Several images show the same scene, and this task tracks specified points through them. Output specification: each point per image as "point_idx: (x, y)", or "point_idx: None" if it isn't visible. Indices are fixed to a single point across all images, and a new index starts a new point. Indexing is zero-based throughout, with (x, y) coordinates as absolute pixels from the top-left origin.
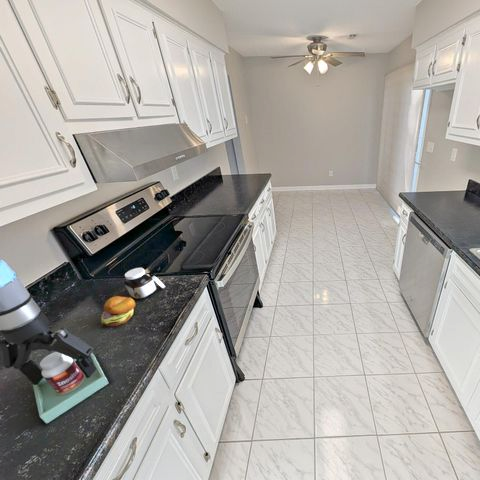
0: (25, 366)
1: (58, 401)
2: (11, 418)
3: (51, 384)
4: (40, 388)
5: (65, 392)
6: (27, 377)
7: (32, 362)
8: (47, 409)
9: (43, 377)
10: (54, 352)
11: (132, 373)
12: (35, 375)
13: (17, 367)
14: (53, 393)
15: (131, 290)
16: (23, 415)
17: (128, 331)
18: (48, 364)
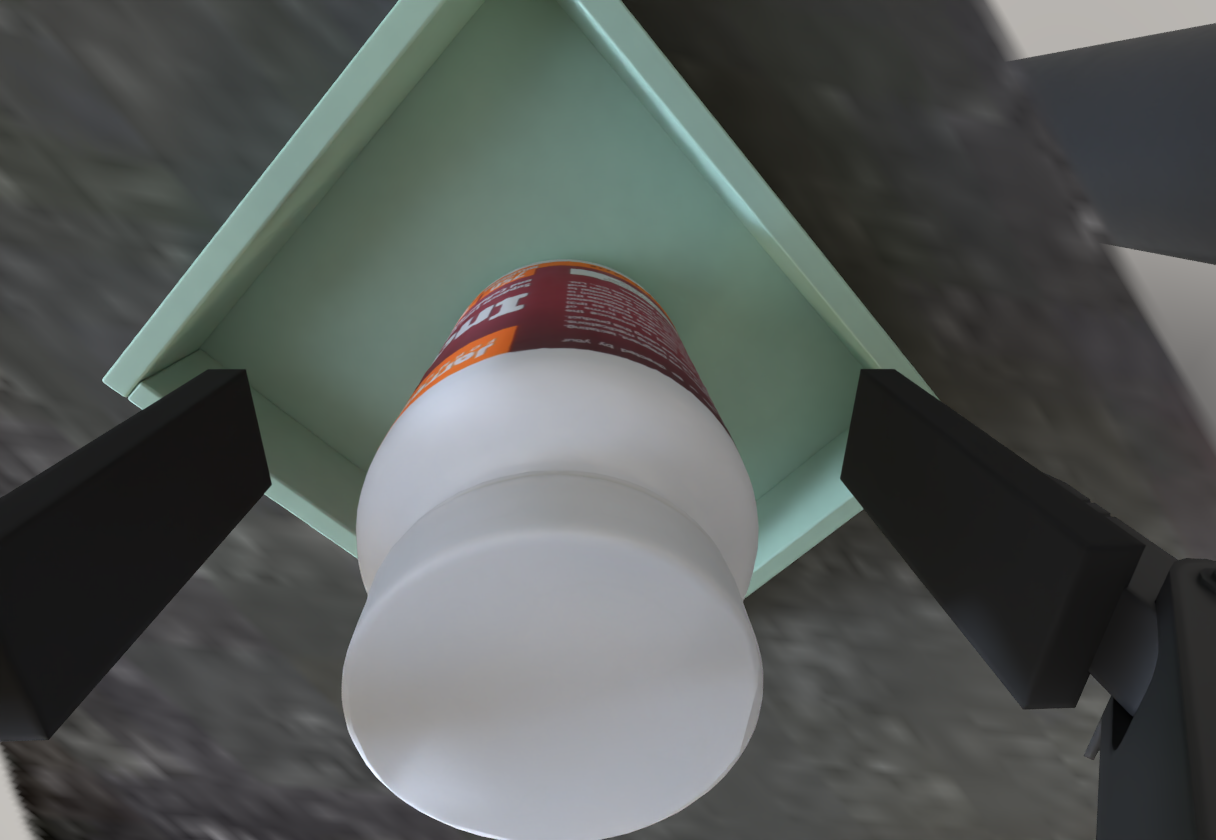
0: (1066, 594)
1: (568, 188)
2: (974, 83)
3: (599, 304)
4: None
5: (524, 266)
6: (977, 430)
7: (1001, 659)
8: (622, 100)
9: (845, 456)
10: (617, 831)
11: (2, 419)
12: (903, 464)
13: (1214, 587)
14: (696, 299)
15: None
16: (868, 97)
17: (455, 830)
18: (475, 570)
